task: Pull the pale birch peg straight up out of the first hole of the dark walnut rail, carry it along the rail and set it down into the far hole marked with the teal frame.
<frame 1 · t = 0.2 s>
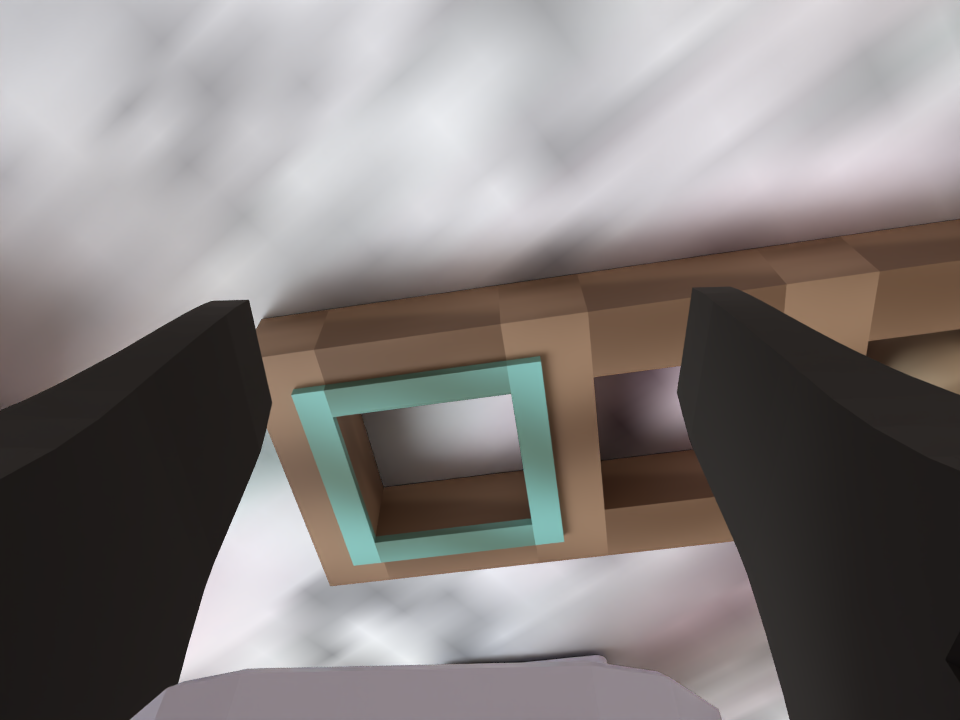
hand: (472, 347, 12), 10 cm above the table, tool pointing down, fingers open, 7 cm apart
rail: (667, 392, 24), on the table
peg: (905, 361, 24), resting in rail
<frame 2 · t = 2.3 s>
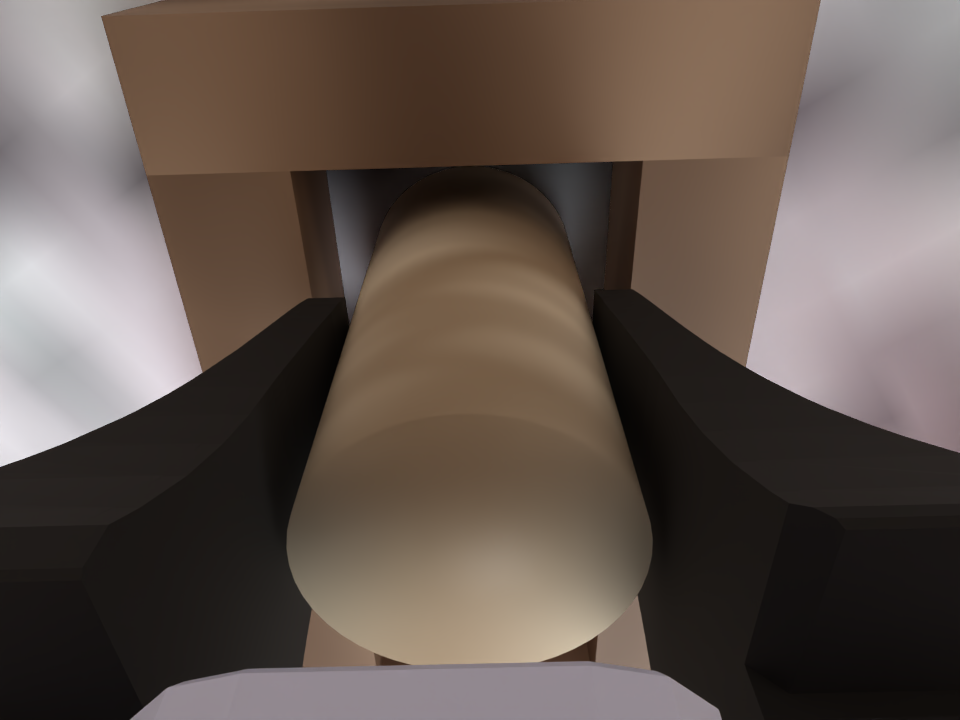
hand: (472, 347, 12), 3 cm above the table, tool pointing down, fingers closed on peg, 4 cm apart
rail: (482, 538, 19), on the table
peg: (472, 262, 15), resting in rail, touching gripper
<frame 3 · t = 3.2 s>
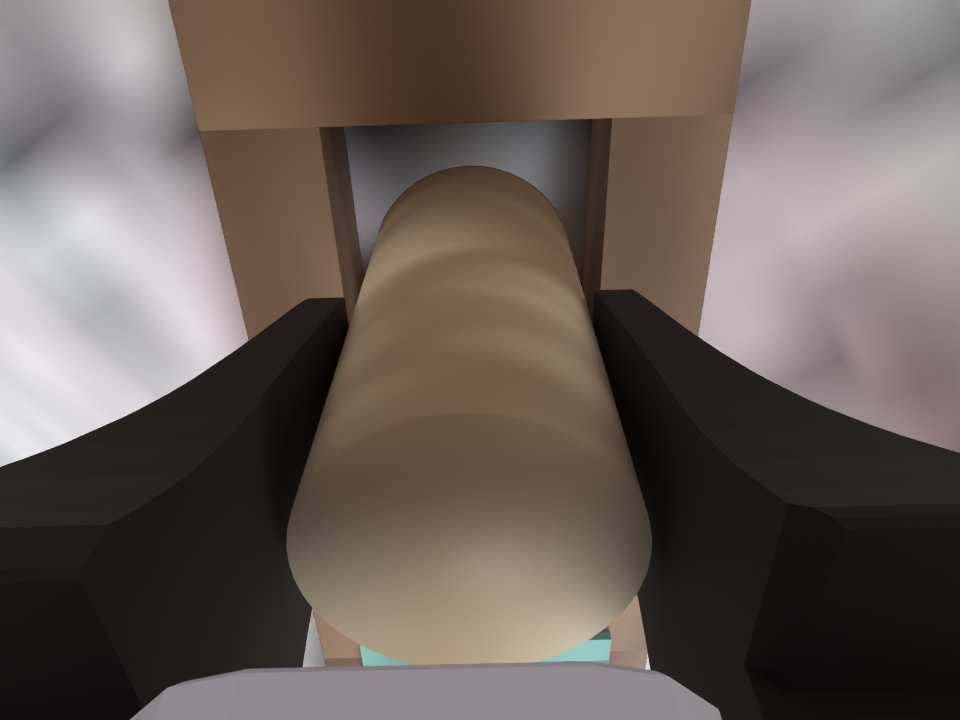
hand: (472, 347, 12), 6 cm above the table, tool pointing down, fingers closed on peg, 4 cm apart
rail: (480, 471, 21), on the table
peg: (472, 261, 15), point 3 cm above the table, touching gripper
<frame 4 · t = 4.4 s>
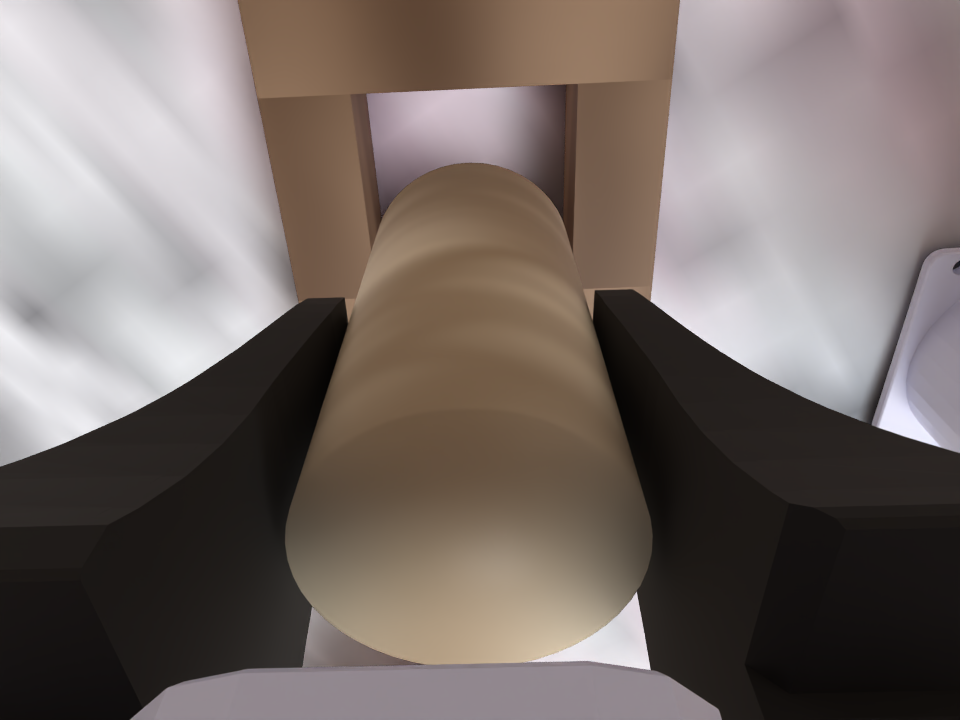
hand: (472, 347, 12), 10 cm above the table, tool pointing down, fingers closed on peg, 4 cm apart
rail: (469, 170, 20), on the table
peg: (472, 259, 14), point 7 cm above the table, touching gripper
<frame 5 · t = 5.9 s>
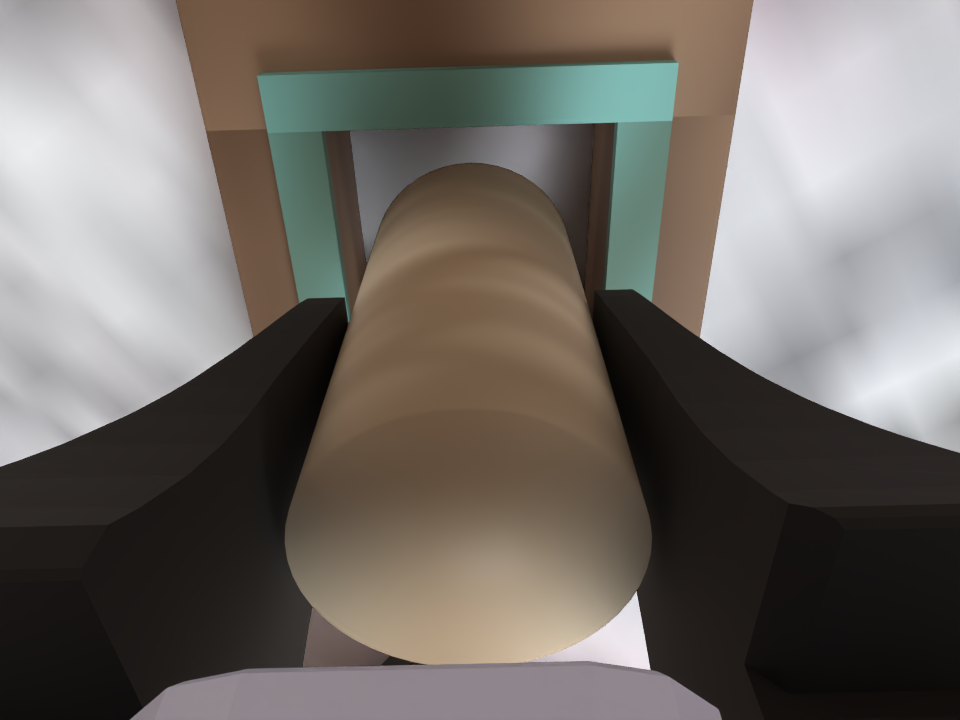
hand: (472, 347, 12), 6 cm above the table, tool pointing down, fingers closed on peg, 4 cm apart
peg: (472, 259, 14), point 3 cm above the table, touching gripper
when the fingers open (4 cm above the table, at t = 6.8 s): peg stays where it is, resting in rail.
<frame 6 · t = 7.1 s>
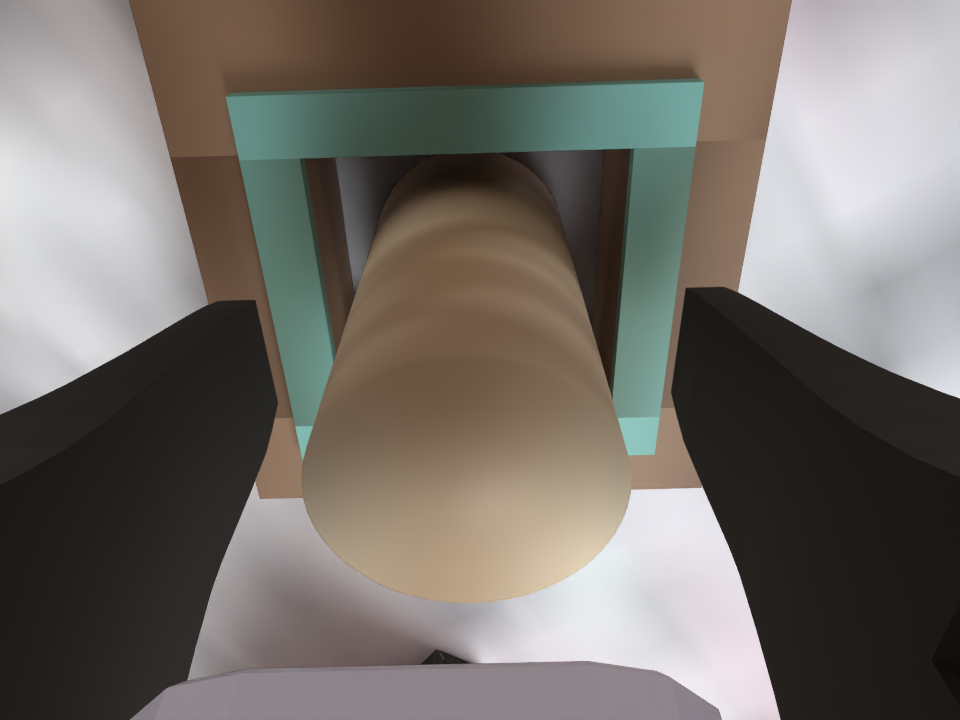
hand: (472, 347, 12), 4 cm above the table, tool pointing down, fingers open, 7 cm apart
peg: (470, 240, 15), resting in rail
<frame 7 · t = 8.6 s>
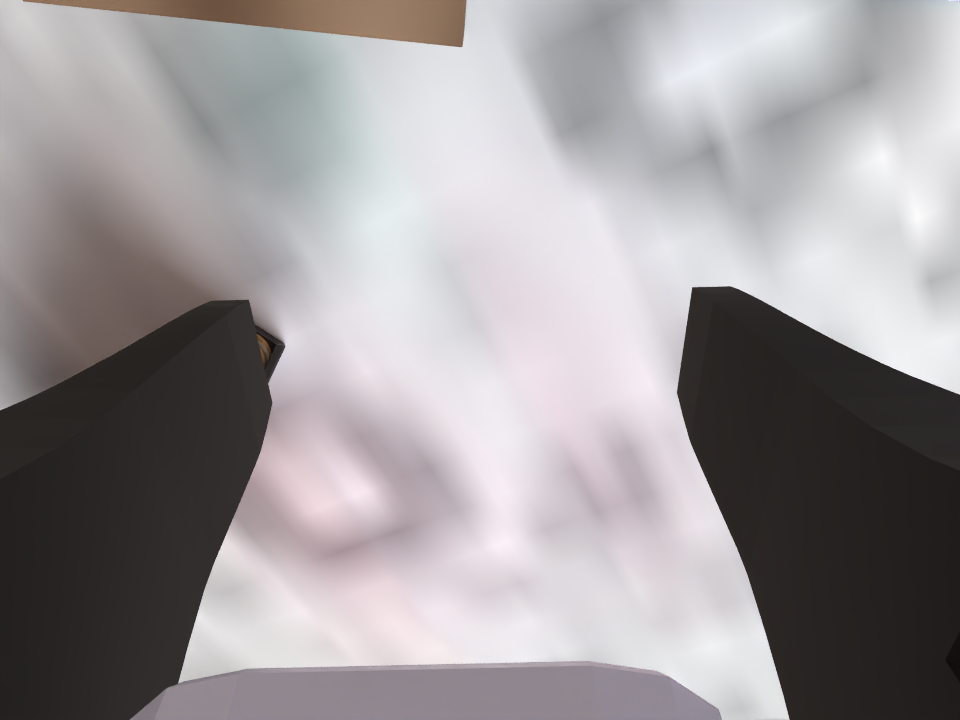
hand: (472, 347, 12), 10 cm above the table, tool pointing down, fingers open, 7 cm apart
ammunition clip: (187, 422, 26), on the table
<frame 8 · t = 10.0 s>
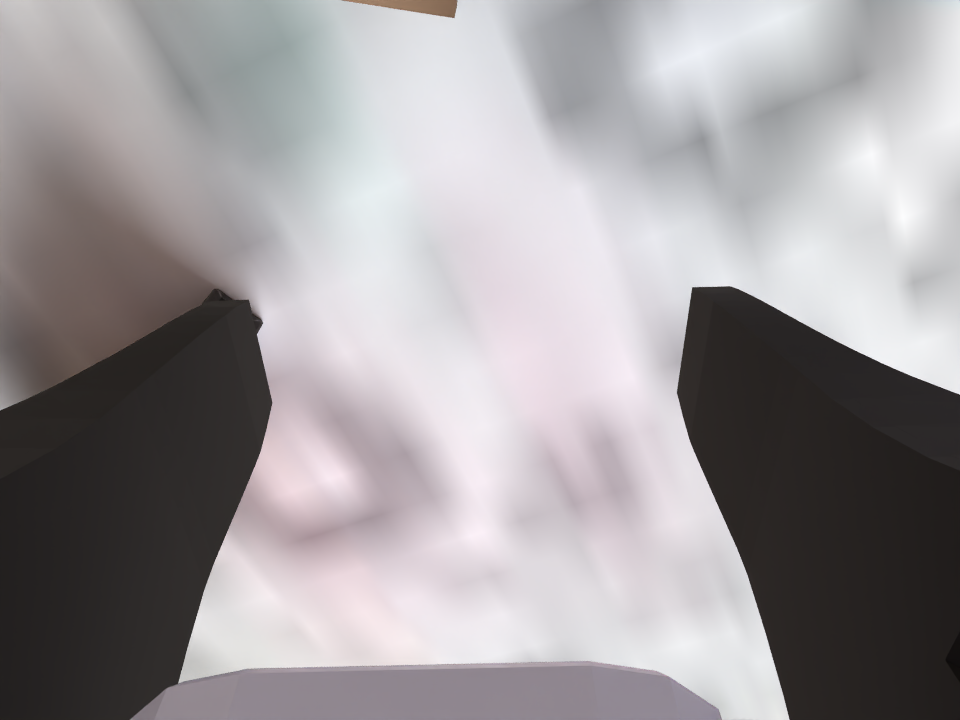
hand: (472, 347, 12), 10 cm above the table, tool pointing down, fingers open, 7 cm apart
ammunition clip: (159, 397, 25), on the table
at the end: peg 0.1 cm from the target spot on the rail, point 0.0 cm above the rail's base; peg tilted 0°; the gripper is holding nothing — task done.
